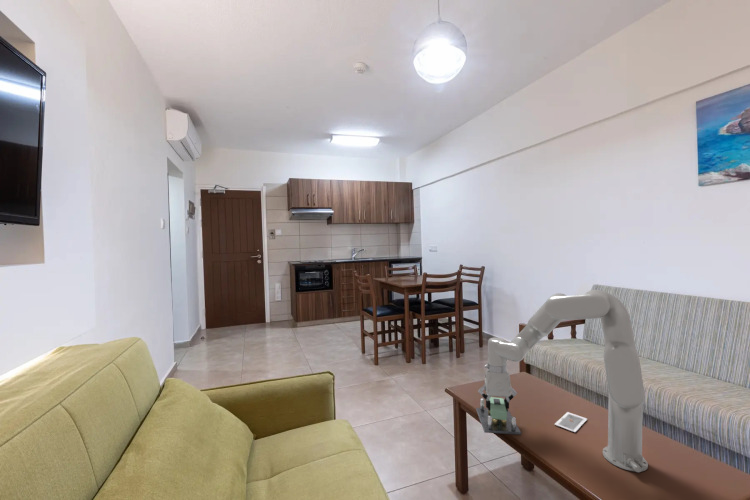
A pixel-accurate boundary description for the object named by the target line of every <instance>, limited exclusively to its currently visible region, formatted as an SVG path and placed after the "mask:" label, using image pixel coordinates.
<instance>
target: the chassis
mask: <svg viewBox="0 0 750 500" xmlns="http://www.w3.org/2000/svg"><path fill="white" fill-rule="evenodd" d="M503 400H505V398H503ZM479 404H480V407H476V413H477V415H478V419H479V421H480V424H481V427H482V430H483V432H484V433H485V434H486V433H487V434H502V435H504V434H505V435H522V432H521V430H520V428H519V426H518V424H517V420H516V419H517V418H516V417H515V416H513V415H512V413H511V412H510V410H509V409H508V412H507V420H501V419H492V416H491V414H490V411H489V410H488V408H485V398H484V397H481V398H480V403H479Z"/></svg>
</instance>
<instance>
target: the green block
mask: <svg viewBox="0 0 750 500" xmlns="http://www.w3.org/2000/svg"><path fill="white" fill-rule="evenodd" d="M503 399H504V397H496V396H491V398H490V414H491V416H492V419H501V420H507V411H506V407H505V403H504V400H503Z"/></svg>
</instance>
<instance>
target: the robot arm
mask: <svg viewBox="0 0 750 500" xmlns="http://www.w3.org/2000/svg"><path fill="white" fill-rule="evenodd" d="M592 319H593V320H595V319H601V325H602V332H603V339H604V349H603V363H604V369H605V376H606V377H605V378H606V383H607V390H608V408H607V409H608V413H607V416H608V417H607V421H608V422H607V426H608V427H607V445H606V446H605V447H603V448H602V455H603V457H604V459H606V460H607V461H608V462H609V463H610V464H612V465H614V466H615V467H618V468H620V469H621V470H622V469H623V470H626V471H630V472H635V473H641V472H644V471H645V472H646V470H648V468H649V464H648V461H647V460H646V459H645V458H644V456H643V420H644V419H643V415H644V414H643V413H644V411H643V409H644V407H643V406H644V405H643V404H644V402H645V400H646V399H645V398H646V395H645V387H644V382H643V381H644V380H643V374H642V367H641V366H642V365H641V361H640V356H639V353H638V350H637V347H636V342H635V335H634V331H633V326H632V321H631V316H630V313H629V311H628V310H627V308H626V306H625V305H624V304H623V302H622V301H621V300H620V299H619V298H618V297H616V295H614V294H612V293H610V292H607V291H604V290H601V289H591V290H588V291H587V292H585V293H584V294H575V295H567V294H564V293H561V292H560V293H559V292H557V293H554V294H552V295H551V296H549V297H548V299H547V300H546V301H545V302H544V303H543V304H542V305H541V306H540V308H538V310H536V311H535V313H534V314H532V316H531V317H530V318H529V319H528V321H527V323H526V325H525V326H524V327H523V328H522V330H521V331H520V332H519V333H518V334H517V335H516V336H515V337H514V338H513V339H512V340H511V341H509V342H507V340H506V339H504V338H501V337H490V338H488V340H487V363H486V364H484V367H483V368H485V369H486V371H485V377H484V384H483V385H482V386H481V387H480V388H478V390H477V392H478V393H479V395H481V396H482V398H484V400H485V407H486V408H488V410H489V411H490V398H491V397H496V398H504V399H505V400H504V403H505V407H506V411H507V412H508V410H509V409H510V402H511V400H512V399H514V397H516V396H517V394H518V391H516V390H515V389H514V388H513V387H512V385H511V376H510V372H509V371H508V361H510V362H515V363H519V362H521V361H523V359H525V357H526V356H527V354H528V353H529V352H530V351H531V350H532V349H533V348H534V347H535V346H536V345H537V344H538V343H539V342H540V340H542V339H544V338H545V337H547V336H548V335H549V334H551V332H552V331H553V330H555V329H556V327H557V326H558V325H559V324H560V323H561V322H562V321H568V320H569V321H570V320H572V321H573V320H592ZM484 391H485V392H484Z"/></svg>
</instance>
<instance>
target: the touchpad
mask: <svg viewBox="0 0 750 500" xmlns="http://www.w3.org/2000/svg"><path fill="white" fill-rule="evenodd" d="M587 420H588V418H586V417H583V416H580V415H578V414H575V413H572V412H569V411H566V413H565V414H563V416H561V418H559V419H558V420H556V421H555V423H554V426H555V425H556V426H557V427H561V428H563V429H566V430H568V431H571V432H574V433H576V432H577V431H578V430H579V429H580V428H582V427H581V426H583V425H584V423H585V422H586V421H587Z"/></svg>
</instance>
